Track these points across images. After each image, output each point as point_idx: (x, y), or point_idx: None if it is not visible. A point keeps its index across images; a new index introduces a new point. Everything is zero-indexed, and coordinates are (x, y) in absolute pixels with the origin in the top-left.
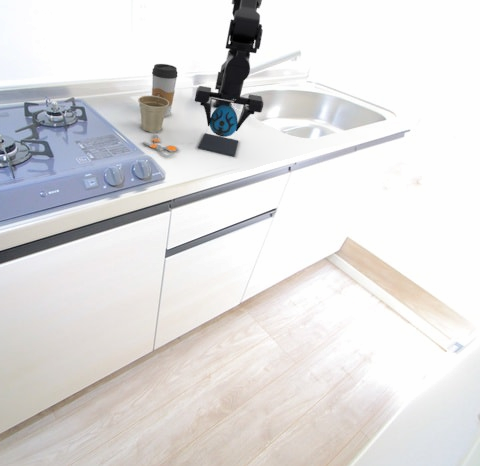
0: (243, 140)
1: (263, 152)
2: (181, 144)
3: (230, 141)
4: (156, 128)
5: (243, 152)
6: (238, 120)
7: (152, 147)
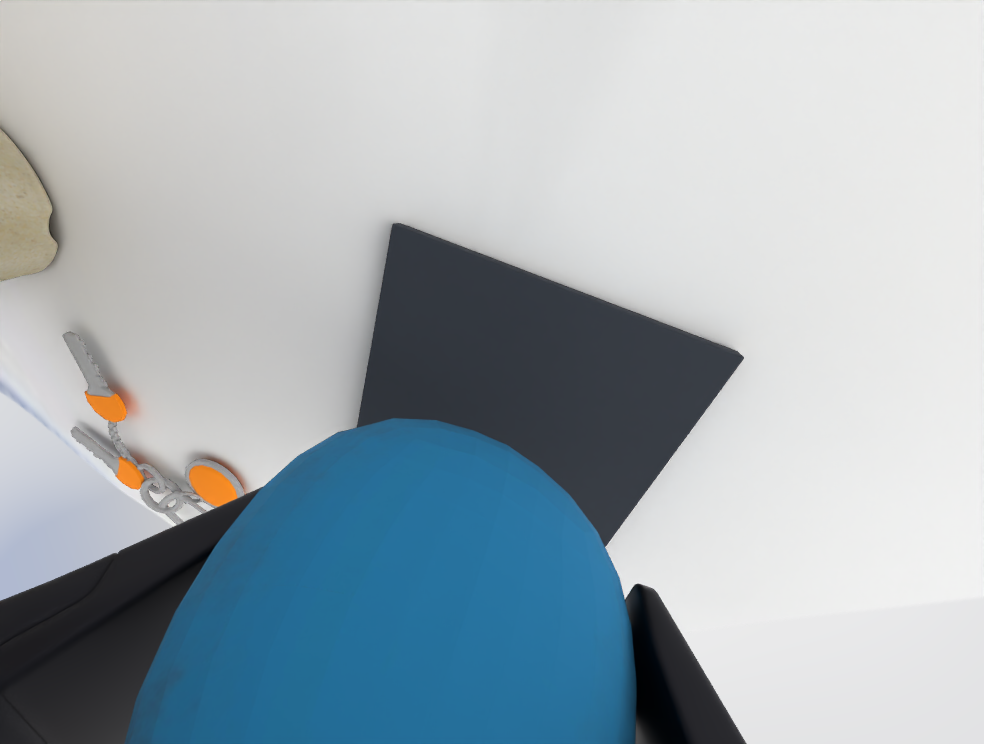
0: (842, 300)
1: (914, 533)
2: (253, 422)
3: (630, 385)
4: (11, 274)
5: (688, 523)
6: (680, 740)
7: (132, 485)
